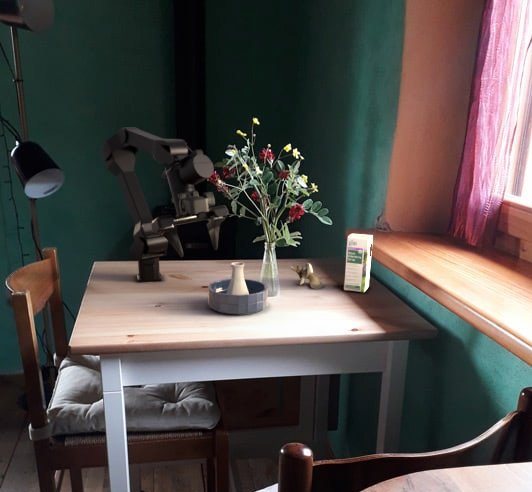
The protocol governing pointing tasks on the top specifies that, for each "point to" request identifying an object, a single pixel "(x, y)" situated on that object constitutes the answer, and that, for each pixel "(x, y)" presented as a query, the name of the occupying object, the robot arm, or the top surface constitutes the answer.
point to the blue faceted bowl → (237, 298)
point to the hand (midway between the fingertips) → (199, 252)
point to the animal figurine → (308, 276)
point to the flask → (237, 280)
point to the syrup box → (358, 262)
